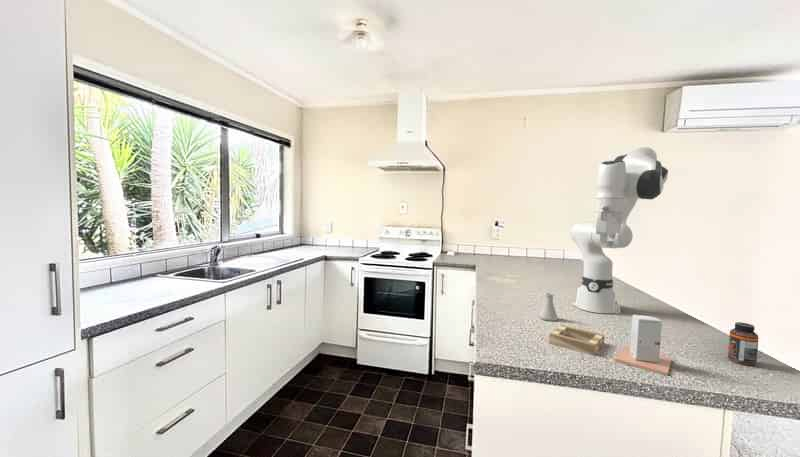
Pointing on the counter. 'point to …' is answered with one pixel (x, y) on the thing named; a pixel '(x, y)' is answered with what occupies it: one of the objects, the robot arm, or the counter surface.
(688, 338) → the counter surface
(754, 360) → the supplement bottle
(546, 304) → the flask
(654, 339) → the skincare box
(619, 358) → the terracotta tile
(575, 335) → the light wooden square frame
